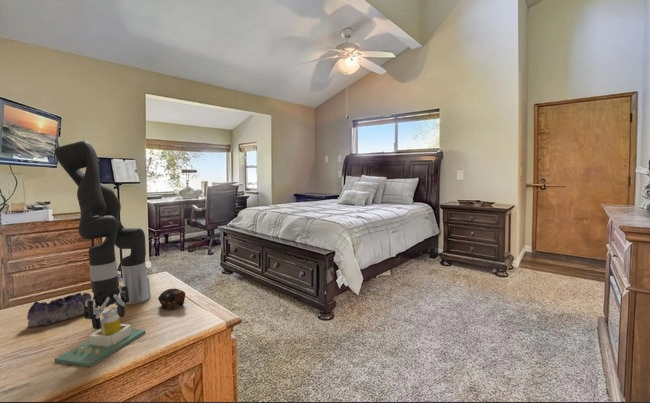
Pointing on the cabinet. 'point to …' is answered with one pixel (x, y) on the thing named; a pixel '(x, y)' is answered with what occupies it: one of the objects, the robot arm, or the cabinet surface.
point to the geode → (56, 310)
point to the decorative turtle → (172, 298)
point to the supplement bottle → (110, 322)
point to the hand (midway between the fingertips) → (109, 322)
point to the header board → (99, 346)
